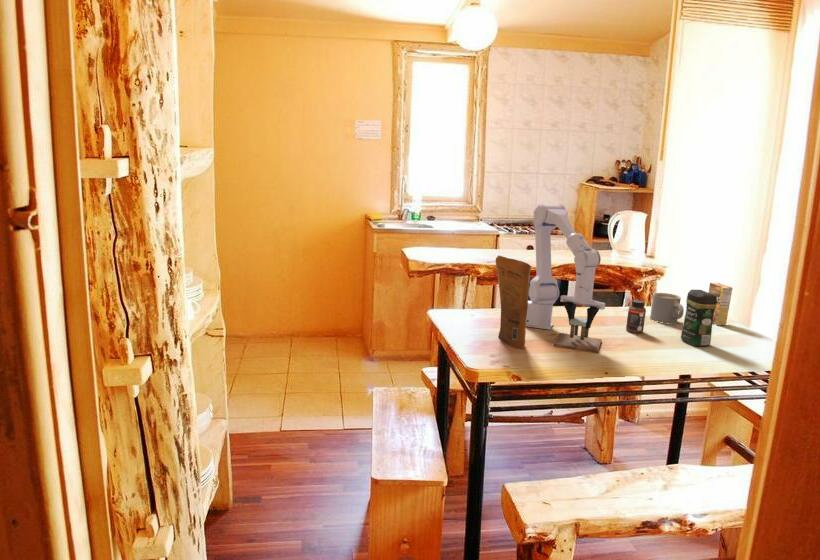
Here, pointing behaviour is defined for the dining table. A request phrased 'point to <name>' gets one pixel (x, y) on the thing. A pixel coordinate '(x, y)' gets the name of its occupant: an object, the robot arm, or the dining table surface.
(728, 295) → the candy box
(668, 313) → the coffee mug
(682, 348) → the dining table surface
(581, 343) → the walnut board
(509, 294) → the pancake mix bag
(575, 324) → the stool
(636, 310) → the supplement bottle
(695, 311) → the coffee jar
